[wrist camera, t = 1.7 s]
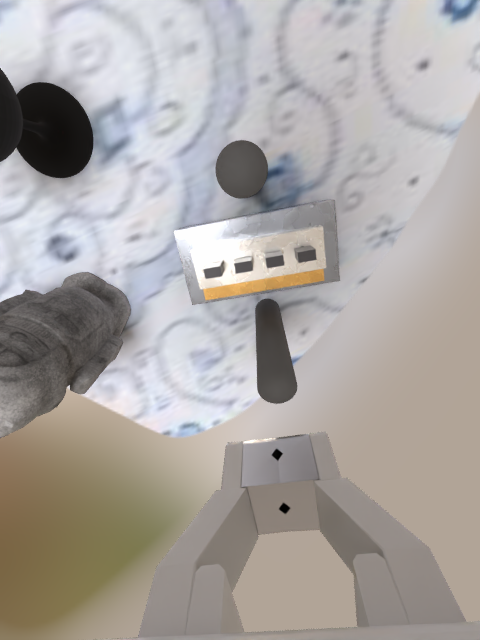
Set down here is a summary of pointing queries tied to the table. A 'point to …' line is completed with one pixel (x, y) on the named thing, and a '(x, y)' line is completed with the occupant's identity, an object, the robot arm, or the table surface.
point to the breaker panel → (259, 228)
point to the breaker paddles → (271, 260)
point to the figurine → (56, 345)
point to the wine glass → (44, 128)
